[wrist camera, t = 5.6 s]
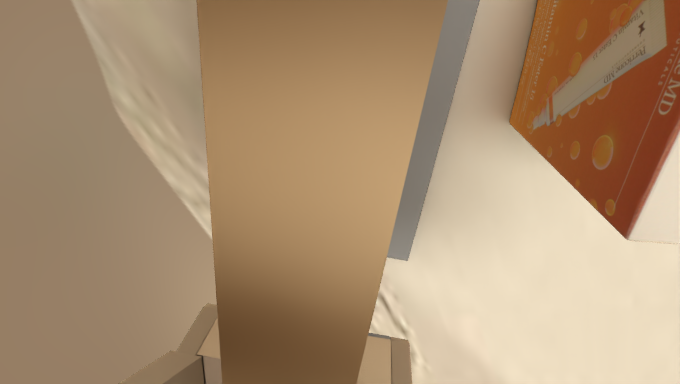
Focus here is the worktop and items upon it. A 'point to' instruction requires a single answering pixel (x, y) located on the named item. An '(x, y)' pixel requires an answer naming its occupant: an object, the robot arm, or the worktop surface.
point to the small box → (608, 107)
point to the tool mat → (432, 121)
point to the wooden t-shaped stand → (307, 172)
